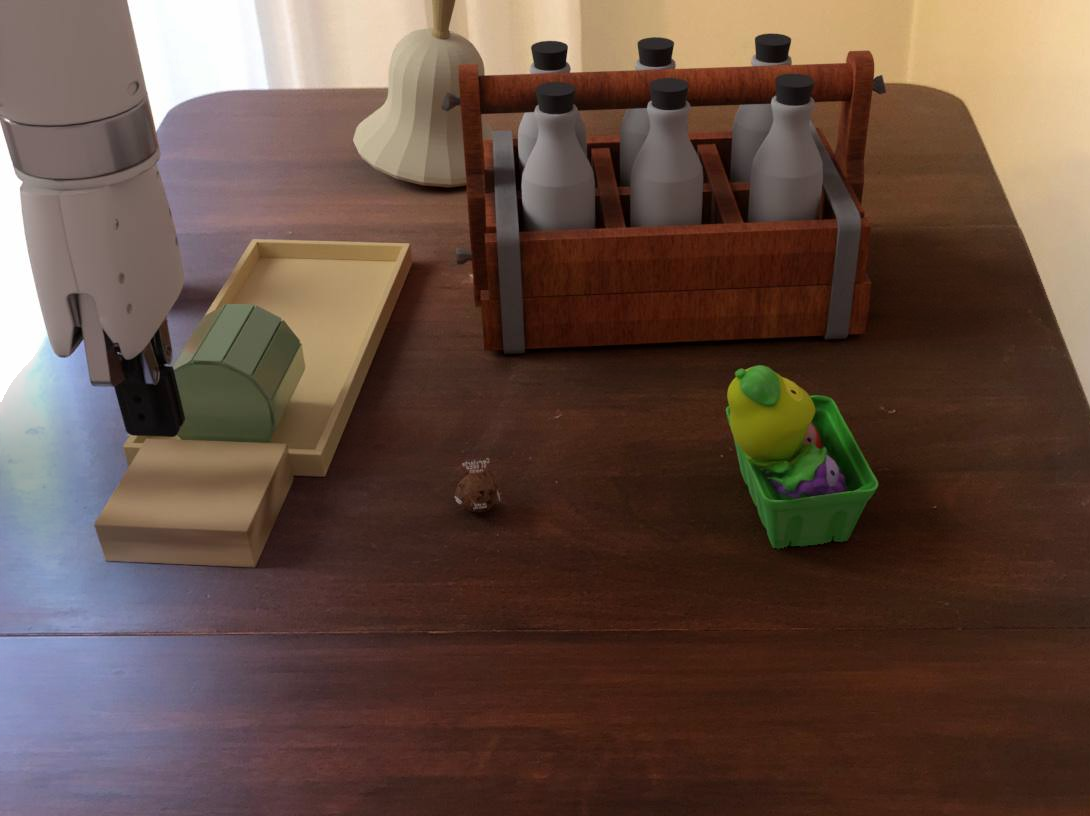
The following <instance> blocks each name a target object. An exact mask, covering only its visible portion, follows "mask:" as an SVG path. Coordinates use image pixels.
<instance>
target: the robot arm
mask: <svg viewBox="0 0 1090 816" xmlns="http://www.w3.org/2000/svg"><path fill="white" fill-rule="evenodd" d="M134 30H135V28H134V26H133V21H132V16H131V12H130V7H129V2H128V0H0V127H1V129H2V133H3V136H4V139H5V143H6V147H7V149H8V150H7V151H8V154H9V157H10V160H11V163H12V167H13V171H14V174H15V176H16V177H17V179H19V180H20V181H21V182H22V183H21V185H20V187H19V194H20V195H19V197H20V208H21V215H22V216H21V217H22V224H23V231H24V237H25V242H26V249H27V254H28V258H29V259H28V260H29V263H30V269H31V273H32V277H33V281H34V286H35V291H36V295H37V299H38V303H39V307H40V311H41V315H42V318H43V323H44V326H45V330H46V334H47V337H48V341H49V344H50V346H51V349H52V351H53V353H54V354H55V355H56V356H57V357H58V358H61V359H66V358H69V357H71V356H72V355H73V354H74V352H75V351H76V350H77V349H78V348H79V346H80V345H81V343H82V342H83V347H84V352H85V358H86V364H87V371H88V377H89V382H90V385H91V386H92V387H100V388H102V387H104V388H114V391H115V396H116V400H117V403H118V406H119V410H120V414H121V418H122V422H123V425H124V428H125V431H126V433H127V434H129V436H130V435H134V436H162V437H174V436H176V435H177V433H178V432H179V430H180V427H181V426H182V425H183V423H184V421H185V415H184V411H183V407H182V403H181V399H180V394H179V390H178V386H177V382H176V378H175V373H174V369H173V367H172V366H168V365H171V363H172V362H173V347H172V342H171V335H170V330H169V324H168V323H169V322H168V321H169V320H168V315H169V313H170V311H171V310H172V308H173V307H174V305H175V303H176V302H177V300H178V298H179V296H180V295H181V293H182V290H183V286H184V280H185V273H184V265H183V260H182V254H181V248H180V243H179V239H178V234H177V231H176V226H175V222H174V219H173V215H172V211H171V207H170V204H169V200H168V196H167V193H166V189H165V185H164V182H163V180H162V176H161V172H160V170H159V167H158V164H157V163H158V162H159V161H160V159H161V155H162V153H161V148H160V144H159V138H158V133H157V129H156V125H155V121H154V116H153V112H152V105H151V102H150V98H149V93H148V90H147V85H146V80H145V76H144V72H143V67H142V63H141V58H140V53H139V48H138V44H137V39H136V35H135V31H134ZM166 365H167V366H166Z"/></svg>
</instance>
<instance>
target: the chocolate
mask: <svg viewBox="0 0 1090 816" xmlns="http://www.w3.org/2000/svg"><path fill="white" fill-rule="evenodd" d="M490 461H491V460H490V458H489V457H486V460H483V461H482V460H479V461H476V460H475V459H474V460H473V461H471V462H469V461H468V462H467V460H465V462H462V467H465V468H466V469H467V470H468V471H469V473H468V474H466V475H465V476H464V477H463V478H461V480H460V481H459V482H458V484H457V486H456V488H455V493H454V497H453V498H455V502H456V503H458V505H459V506H460V507H462V508H463V509H464V510H465V511H467V512H472V513H475V514H476V513H477V514H478V513H485V512H487V511H490V510H491V509H492V508H493V507H494V505H495V503H496V500H497V498H498V501H499V502H501V497H500V496H501V495H500V493H499V490H498V487H497V483H496V479H495V478H494V476H493V474H491V473H490V472H489V471H487V470H486V469H487V464H490ZM480 464H481V468H480ZM468 465H469V466H468Z"/></svg>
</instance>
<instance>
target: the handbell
mask: <svg viewBox="0 0 1090 816" xmlns="http://www.w3.org/2000/svg"><path fill="white" fill-rule="evenodd" d="M431 3H432V19H433V27H431V28H428V27H427V28H421V29H417V30H413V31H411V32H409V33H407V34H406V35H404V36H403V37H402V38H401V39H400V40H399V41H398V42H397V43H396V44H395V46H394V48H393V51H392V53H391V57H390V60H389V65H388V66H389V67H388V84H387V85H388V87H387V88H388V90H387V97H386V99H385V101H384V103H383V104H382V106H380V107H379V108H378V109H376V110H375V111H373V112H372V113H371V114H370V115H368V116H367V117H366V118H364V119H363V120H362V121H361V122H359V124H358V125H357V126H356V128H355V132H354V135H353V139H352V142H353V143H354V146H355V148H356V150H357V152H358V154H359V156H360V158H361V159H362V160H364V161H365V162H366V163H368V164H369V165H370V166H371V167H372V168H373V169H374V170H376V171H379V172H381V173H382V174H385V175H387V176H390V177H392V178H394V179H396V180H400V181H404V182H409V183H413V184H417V185H420V186H428V187H441V188H456V187H467V186H466V171H465V157H464V144H463V130H462V117H461V105H457V106H455V107H454V108H452V109H451V110H449V111H444V110H442V109H441V108H442V104H443V101H444V98H445V95H446V92H449V93H451V94H454V95H456V96H457V95H460V89H459V71H458V65H459V64H478V74H479V76H484V75H485V64H484V61H483V58H482V56H481V53H479V51H478V50H477V48H476V46H475V45H474V44H473V43H472V42H471V41H470V40H468V39H467V38H466V37H464V36H463V35H461V34H459V33H456V32H454V31H451V30H449V29H450V25H451V20H452V16H453V13H454V9H455V4H456V0H431ZM481 120H482V136H483V140H493V133H492V131H494V130H493V128H492V127H491V126H490V125H489V124H488V123H487V121H486V120H485V119H484V117H483V114H481Z"/></svg>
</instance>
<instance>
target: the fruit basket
mask: <svg viewBox="0 0 1090 816" xmlns="http://www.w3.org/2000/svg"><path fill="white" fill-rule="evenodd" d="M734 375H735V377H734V378H733V379H732V381H731V382H730V384H728V385H729V386H728V387H727V392H726V393H727V394H726V397H727V403H728V406H726V407H725V414H726V418H727V422H728V426H729V427H730V430H731V434H732V435H733V436H732V437H733V441H734V446H735V450H736V455H737V461H738V464H739V470H740V474H741V476H742V479H743V481H744V483H745V485H746V486H747V488H748V493H749V495H750V498H751V500H752V502H753V504H754V506H755V507H756V509H757V514H758V516H759V517H758V518H759V519H760V521H761V524H762V526H763V527H764V529H766V534H767V537H768V540H769V542H770V545H771V547H772V548H773V549H774V548H777V549H776V550H781V549H780V548H782V549H785V548H788V547H794V546H800V548H801V547H809V546H808V545H810V546H818V544H820V545H825V544H824V543H826V544H828V543H831V542H834V541H835V542H836V543H845V542H847V541H849V539H850V537H851V535H852V533H853V531H854V529H855V527H856V525H857V523H858V521H859V519H860V517H861V515H862V513H863V512H864V509H865V507H866V505H867V503H868V501H869V500H870V499H872V497H873V495H874V494H875V492H876V490H877V489H878V487H879V481H878V479H877V477H876V475H875V473H874V472H873V471H872V469H871V467H870V465H869V463H868V461H867V460H866V458H865V456H864V454H863V452H862V451H861V449H860V446H859V444H858V442H857V441H856V439H855V437H854V435H853V433H852V431H851V430H850V429H849V426H848V425H847V423H846V421H845V419H844V417H843V415H842V414H841V412H840V409H839V407H838V405H837V404H836V402H835V400H834V399H832V397H829V396H826V395H816V394H815V395H809V393H808V392H807V391H806V390H805V389H804V388H802V387H800V386H799V385H798V384H797V383H796V382H794V381H792V380H790V379H789V378H787V377H783V376H781V375H780V374H779V373H778V372H775V371H774V370H773V369H772V368H770V367H769V366H766V365H763V364H762V365H760V364H758V365H754V366H752V367H748V368H746V369H744V368H739V369H737V370H736V371H735V372H734ZM832 540H833V541H832ZM844 541H845V542H844ZM827 542H828V543H827ZM790 545H791V546H790ZM787 546H788V547H787ZM784 547H785V548H784Z"/></svg>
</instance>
